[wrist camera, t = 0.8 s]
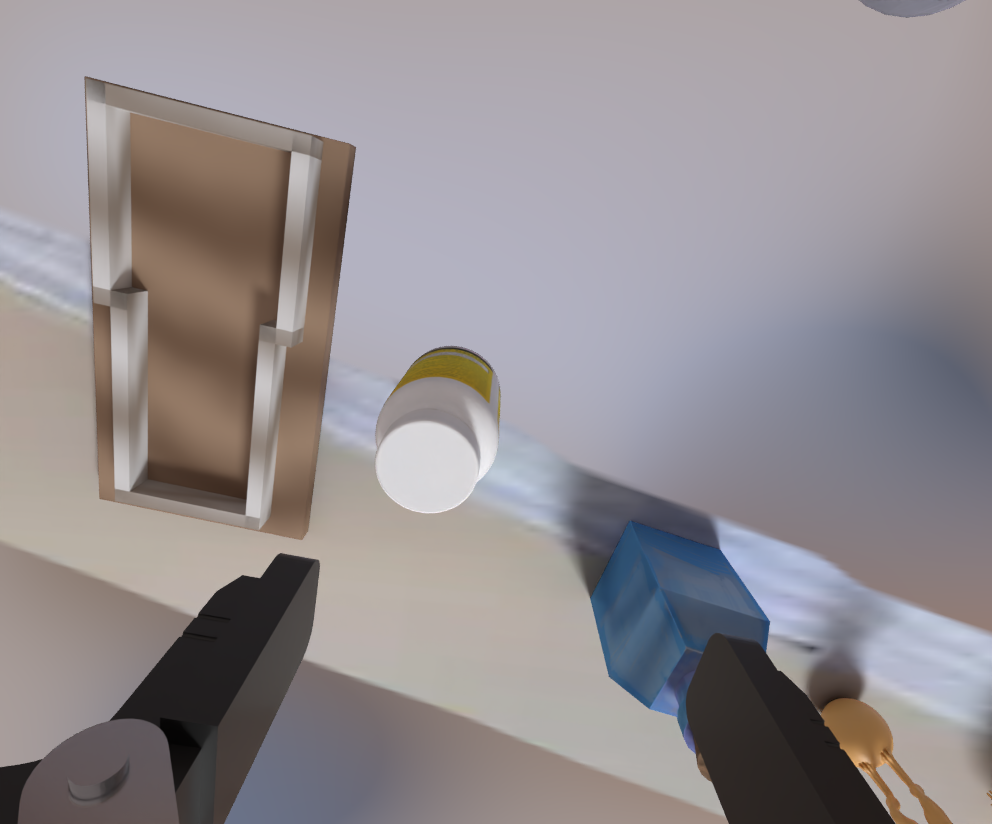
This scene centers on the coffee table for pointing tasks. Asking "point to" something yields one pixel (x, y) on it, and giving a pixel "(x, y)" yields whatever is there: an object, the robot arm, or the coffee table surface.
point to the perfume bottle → (668, 616)
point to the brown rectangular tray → (211, 305)
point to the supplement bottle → (438, 430)
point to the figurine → (875, 753)
